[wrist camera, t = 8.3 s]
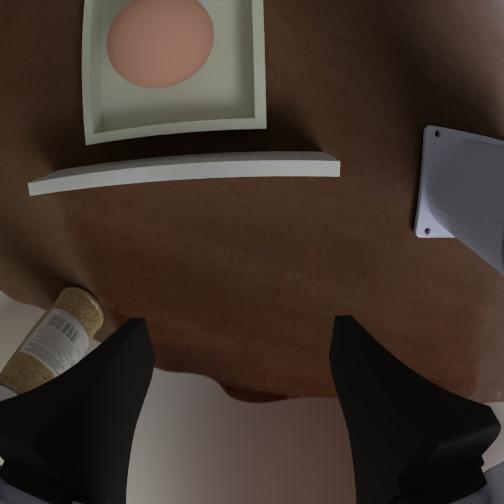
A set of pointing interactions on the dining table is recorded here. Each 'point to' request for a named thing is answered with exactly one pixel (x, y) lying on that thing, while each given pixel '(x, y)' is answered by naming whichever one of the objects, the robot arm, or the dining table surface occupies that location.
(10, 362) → the spice bottle
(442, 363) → the dining table surface
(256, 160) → the acrylic wall
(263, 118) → the tray
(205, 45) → the ball
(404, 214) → the dining table surface
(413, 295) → the dining table surface
